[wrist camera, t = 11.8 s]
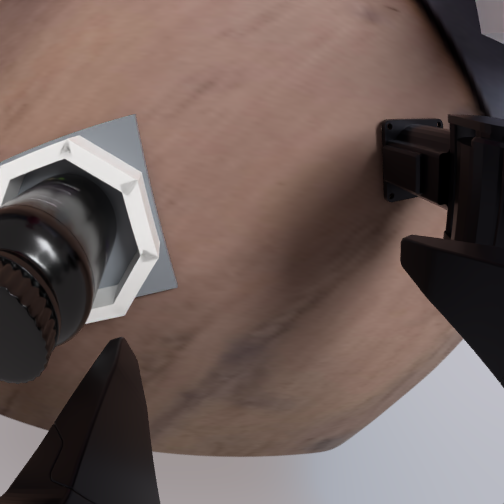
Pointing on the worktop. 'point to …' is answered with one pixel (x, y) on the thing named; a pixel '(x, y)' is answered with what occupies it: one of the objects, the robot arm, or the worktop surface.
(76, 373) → the worktop surface
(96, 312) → the collar seat
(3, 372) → the supplement bottle
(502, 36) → the milk
